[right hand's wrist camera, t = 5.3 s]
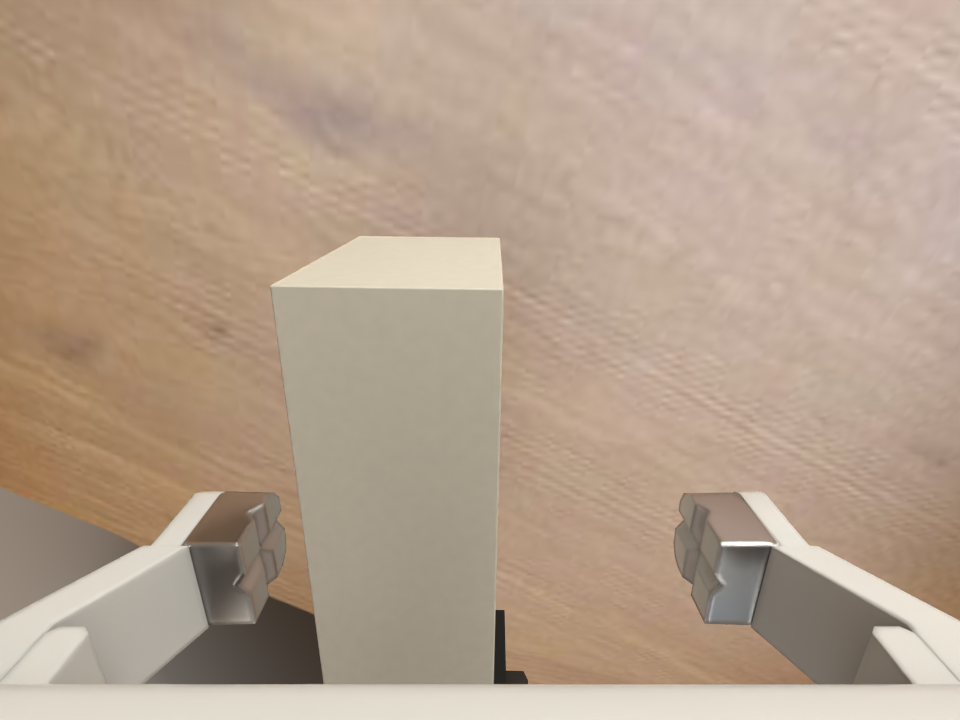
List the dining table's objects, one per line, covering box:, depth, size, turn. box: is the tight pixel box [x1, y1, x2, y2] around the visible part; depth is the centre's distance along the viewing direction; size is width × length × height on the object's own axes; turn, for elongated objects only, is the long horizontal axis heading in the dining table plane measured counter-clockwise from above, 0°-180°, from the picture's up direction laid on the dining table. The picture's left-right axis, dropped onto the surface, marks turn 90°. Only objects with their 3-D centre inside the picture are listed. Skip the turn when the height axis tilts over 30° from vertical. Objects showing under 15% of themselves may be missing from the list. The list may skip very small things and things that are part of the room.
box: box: [270, 236, 504, 684], centre depth 24 cm, size 27×6×10 cm, turn 179°
